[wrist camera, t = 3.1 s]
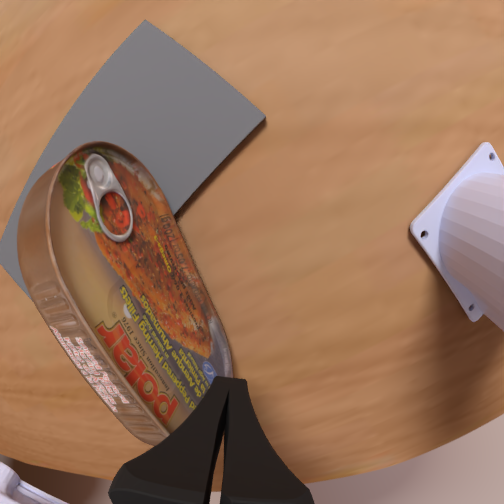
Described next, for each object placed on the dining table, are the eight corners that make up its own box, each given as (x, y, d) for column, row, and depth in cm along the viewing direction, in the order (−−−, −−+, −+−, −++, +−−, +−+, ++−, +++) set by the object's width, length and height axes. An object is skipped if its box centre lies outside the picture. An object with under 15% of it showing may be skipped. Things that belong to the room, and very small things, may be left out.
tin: (243, 368, 19) (224, 483, 11) (199, 375, 20) (167, 481, 12) (143, 132, 14) (24, 149, 6) (95, 157, 15) (-25, 194, 7)
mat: (265, 117, 15) (266, 116, 14) (77, 338, 19) (74, 342, 19) (147, 22, 13) (145, 19, 13) (-2, 254, 18) (-6, 256, 17)
